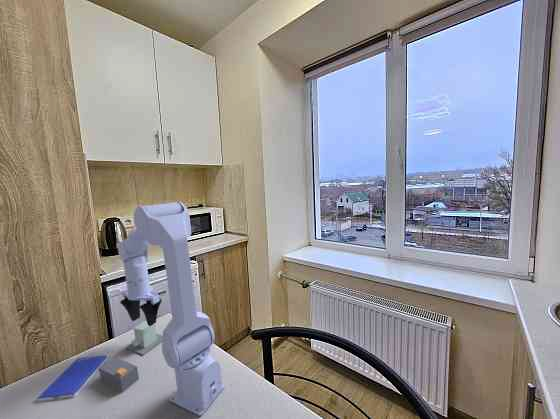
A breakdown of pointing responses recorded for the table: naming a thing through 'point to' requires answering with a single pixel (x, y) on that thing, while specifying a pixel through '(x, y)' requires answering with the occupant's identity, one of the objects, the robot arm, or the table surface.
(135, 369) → the power strip
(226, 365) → the table surface
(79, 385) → the blue book
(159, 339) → the mat
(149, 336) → the block
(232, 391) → the table surface
